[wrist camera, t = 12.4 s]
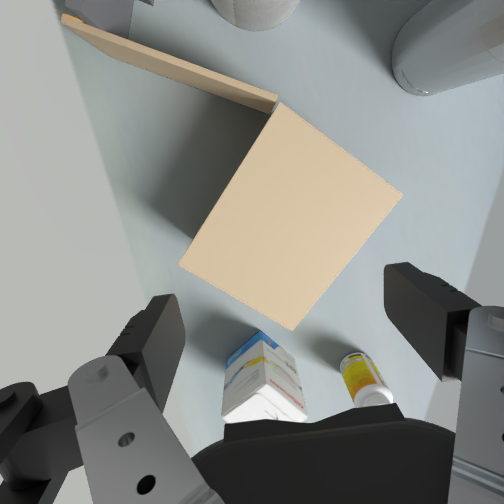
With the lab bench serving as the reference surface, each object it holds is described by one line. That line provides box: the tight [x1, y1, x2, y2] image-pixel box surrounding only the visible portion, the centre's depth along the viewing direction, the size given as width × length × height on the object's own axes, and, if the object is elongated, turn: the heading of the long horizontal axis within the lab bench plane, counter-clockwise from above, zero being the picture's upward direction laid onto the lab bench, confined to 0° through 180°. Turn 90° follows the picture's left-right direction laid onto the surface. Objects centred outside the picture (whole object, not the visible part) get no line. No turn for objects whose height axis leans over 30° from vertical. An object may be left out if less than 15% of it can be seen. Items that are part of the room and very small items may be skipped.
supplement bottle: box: [340, 353, 393, 408], centre depth 46 cm, size 6×6×10 cm
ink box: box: [221, 331, 308, 423], centre depth 45 cm, size 9×8×12 cm
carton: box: [178, 102, 403, 331], centre depth 38 cm, size 20×16×10 cm
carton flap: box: [61, 0, 278, 114], centre depth 29 cm, size 20×6×14 cm, turn 72°
